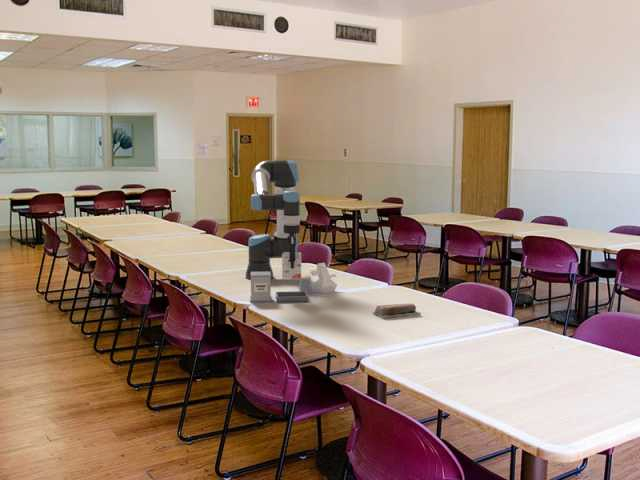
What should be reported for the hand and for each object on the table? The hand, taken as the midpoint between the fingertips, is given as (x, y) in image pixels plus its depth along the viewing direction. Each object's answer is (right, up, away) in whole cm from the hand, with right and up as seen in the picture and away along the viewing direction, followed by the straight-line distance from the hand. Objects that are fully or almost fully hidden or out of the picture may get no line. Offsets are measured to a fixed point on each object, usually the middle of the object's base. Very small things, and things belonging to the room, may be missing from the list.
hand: (291, 273), depth 307 cm
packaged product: (+46, -17, -26) cm, 55 cm away
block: (+6, -10, +17) cm, 21 cm away
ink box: (0, -2, +1) cm, 2 cm away
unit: (-14, -12, 0) cm, 19 cm away
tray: (0, -12, +2) cm, 12 cm away
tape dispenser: (+16, -10, +20) cm, 27 cm away
